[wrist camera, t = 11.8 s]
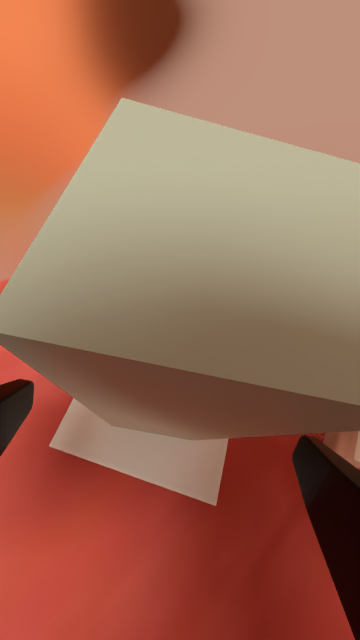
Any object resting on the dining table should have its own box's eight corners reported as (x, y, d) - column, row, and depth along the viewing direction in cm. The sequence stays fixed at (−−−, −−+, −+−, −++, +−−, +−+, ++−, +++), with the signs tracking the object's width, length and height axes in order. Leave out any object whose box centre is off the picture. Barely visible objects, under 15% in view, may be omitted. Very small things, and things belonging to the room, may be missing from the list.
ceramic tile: (211, 502, 14) (216, 506, 14) (53, 446, 14) (48, 446, 14) (240, 353, 19) (245, 348, 18) (122, 311, 19) (121, 304, 18)
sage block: (192, 440, 15) (458, 425, 3) (111, 426, 15) (-21, 329, 2) (201, 363, 17) (363, 164, 5) (132, 349, 17) (122, 98, 5)
